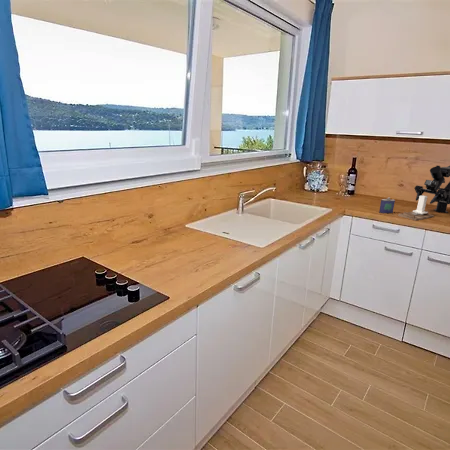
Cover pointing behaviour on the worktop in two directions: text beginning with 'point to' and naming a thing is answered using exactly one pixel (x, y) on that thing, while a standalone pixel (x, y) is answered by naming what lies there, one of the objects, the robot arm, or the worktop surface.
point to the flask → (386, 206)
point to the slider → (421, 205)
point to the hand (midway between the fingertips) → (423, 201)
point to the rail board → (415, 215)
